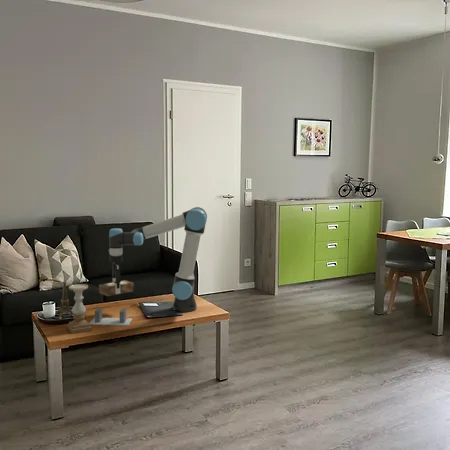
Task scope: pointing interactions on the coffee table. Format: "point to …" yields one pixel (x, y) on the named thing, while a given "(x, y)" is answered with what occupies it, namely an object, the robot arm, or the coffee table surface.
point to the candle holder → (78, 311)
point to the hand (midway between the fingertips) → (116, 291)
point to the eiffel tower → (64, 300)
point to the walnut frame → (110, 288)
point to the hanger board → (110, 319)
